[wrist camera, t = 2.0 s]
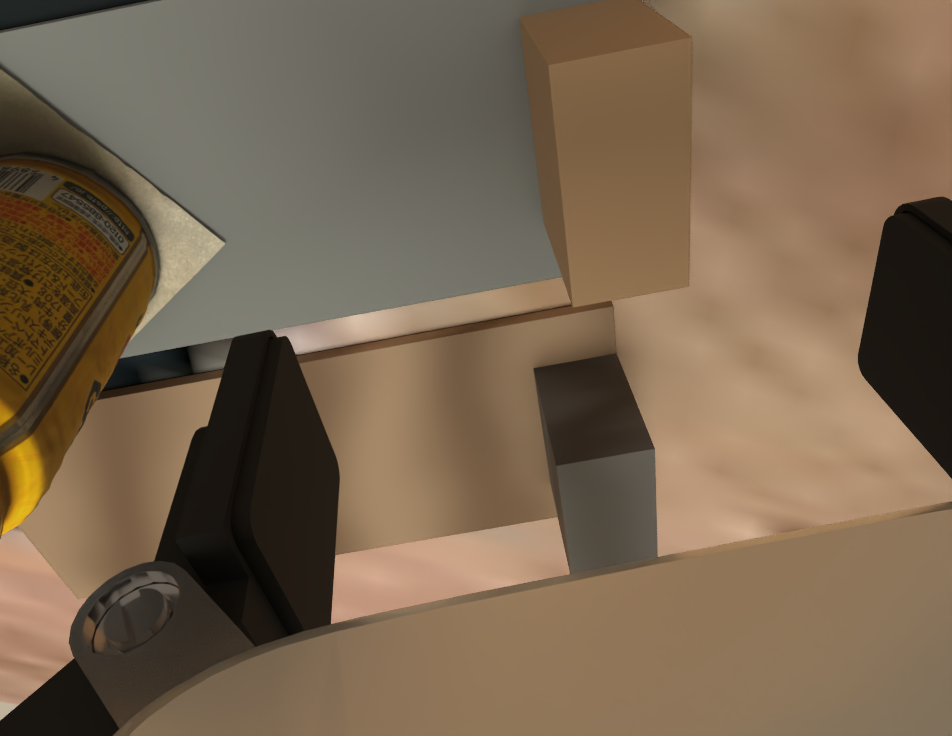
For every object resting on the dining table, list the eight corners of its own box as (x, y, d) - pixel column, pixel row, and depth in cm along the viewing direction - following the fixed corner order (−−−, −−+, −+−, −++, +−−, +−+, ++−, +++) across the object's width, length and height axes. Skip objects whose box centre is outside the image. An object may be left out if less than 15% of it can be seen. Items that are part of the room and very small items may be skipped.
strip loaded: (624, -96, 18) (693, -75, 14) (637, 255, 24) (688, 349, 20) (-280, 87, 19) (-488, 163, 15) (-54, 382, 25) (-152, 499, 21)
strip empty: (610, 298, 25) (653, 398, 21) (623, 496, 31) (658, 606, 27) (-55, 419, 26) (-150, 539, 22) (81, 589, 32) (29, 710, 27)
